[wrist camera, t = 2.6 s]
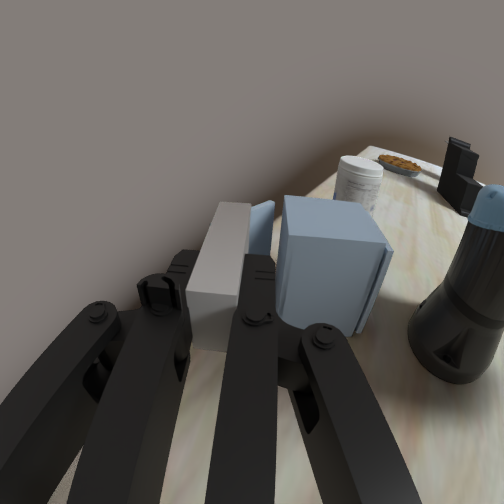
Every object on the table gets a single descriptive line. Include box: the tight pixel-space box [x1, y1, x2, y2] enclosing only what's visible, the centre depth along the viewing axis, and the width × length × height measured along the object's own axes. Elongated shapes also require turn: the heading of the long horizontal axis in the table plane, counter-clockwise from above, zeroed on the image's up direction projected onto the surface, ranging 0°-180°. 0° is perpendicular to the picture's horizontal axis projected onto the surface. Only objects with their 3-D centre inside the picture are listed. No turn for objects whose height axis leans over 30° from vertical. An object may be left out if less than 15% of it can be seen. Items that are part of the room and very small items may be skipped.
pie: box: [378, 155, 422, 177], centre depth 112 cm, size 22×22×5 cm
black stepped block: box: [437, 137, 483, 217], centre depth 76 cm, size 23×11×24 cm, turn 169°
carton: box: [275, 195, 394, 337], centre depth 34 cm, size 11×10×14 cm
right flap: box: [210, 200, 275, 256], centre depth 35 cm, size 10×1×12 cm, turn 136°
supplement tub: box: [333, 156, 383, 218], centre depth 56 cm, size 10×10×15 cm
